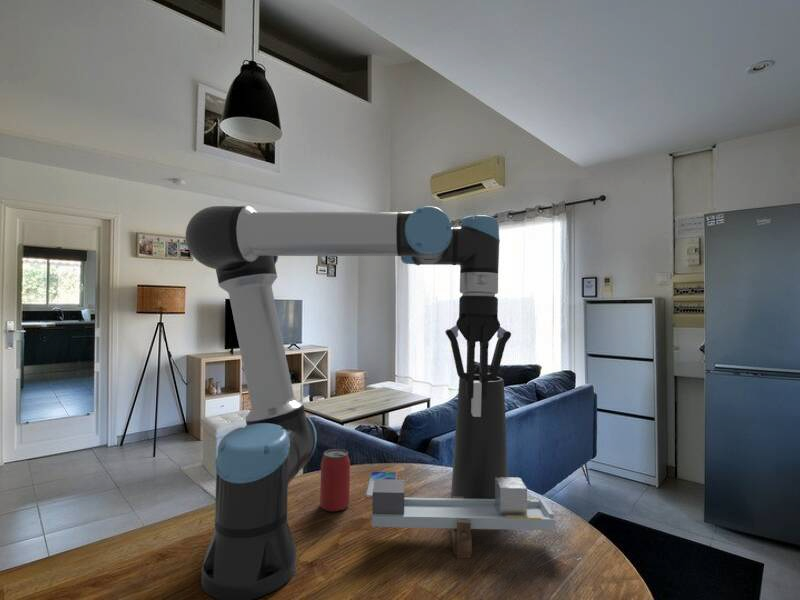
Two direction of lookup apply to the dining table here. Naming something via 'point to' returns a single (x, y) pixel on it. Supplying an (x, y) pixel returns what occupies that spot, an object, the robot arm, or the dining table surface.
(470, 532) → the fulcrum
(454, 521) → the beam
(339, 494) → the beer can
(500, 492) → the block
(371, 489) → the smartphone
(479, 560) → the dining table surface
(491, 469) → the vase
